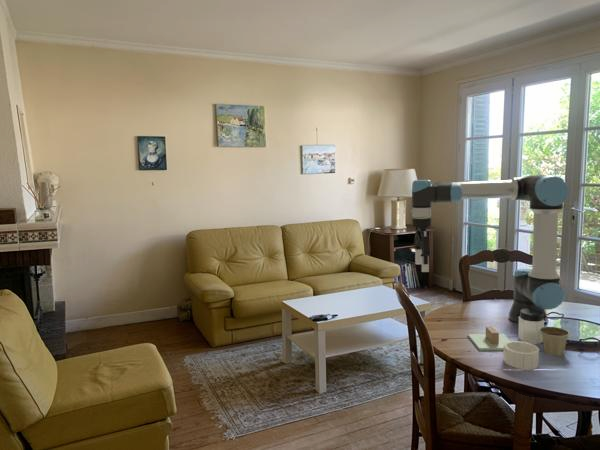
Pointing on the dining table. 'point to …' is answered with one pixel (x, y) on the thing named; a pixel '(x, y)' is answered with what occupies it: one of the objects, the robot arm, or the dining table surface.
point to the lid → (489, 340)
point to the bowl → (521, 355)
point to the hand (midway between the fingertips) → (421, 268)
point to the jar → (530, 326)
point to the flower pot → (554, 340)
